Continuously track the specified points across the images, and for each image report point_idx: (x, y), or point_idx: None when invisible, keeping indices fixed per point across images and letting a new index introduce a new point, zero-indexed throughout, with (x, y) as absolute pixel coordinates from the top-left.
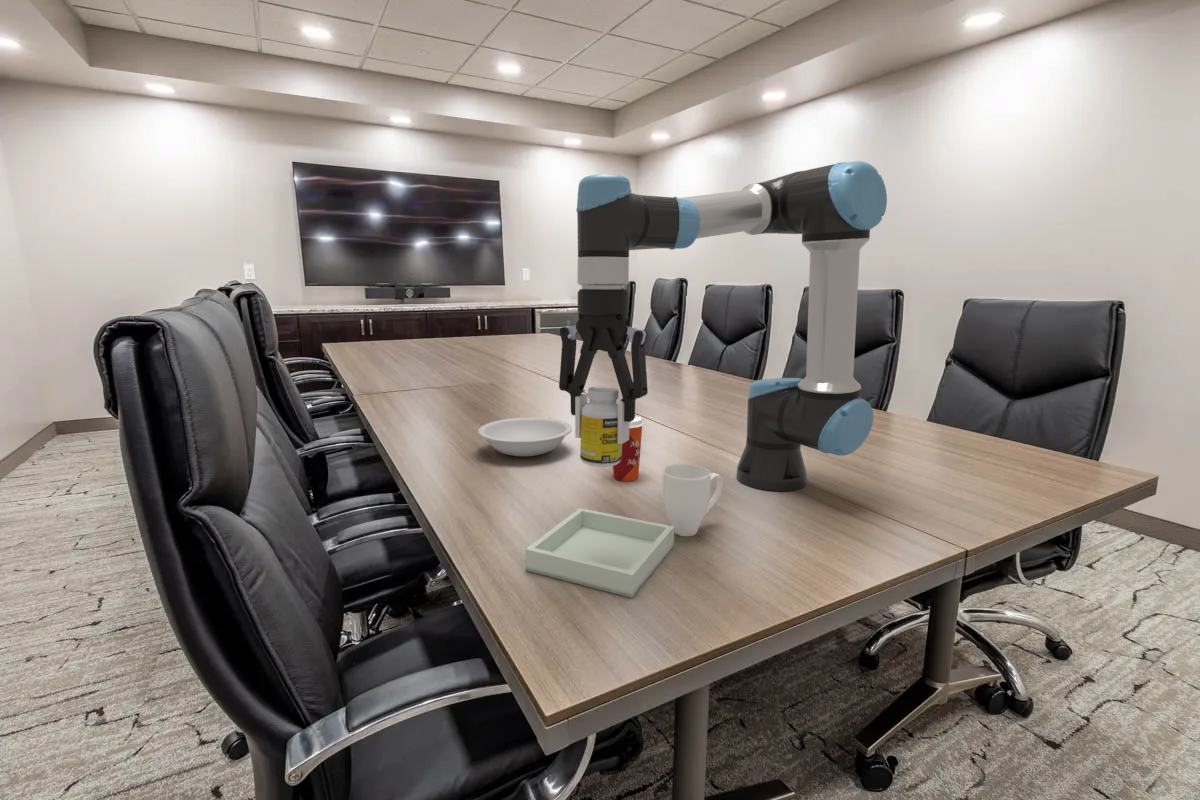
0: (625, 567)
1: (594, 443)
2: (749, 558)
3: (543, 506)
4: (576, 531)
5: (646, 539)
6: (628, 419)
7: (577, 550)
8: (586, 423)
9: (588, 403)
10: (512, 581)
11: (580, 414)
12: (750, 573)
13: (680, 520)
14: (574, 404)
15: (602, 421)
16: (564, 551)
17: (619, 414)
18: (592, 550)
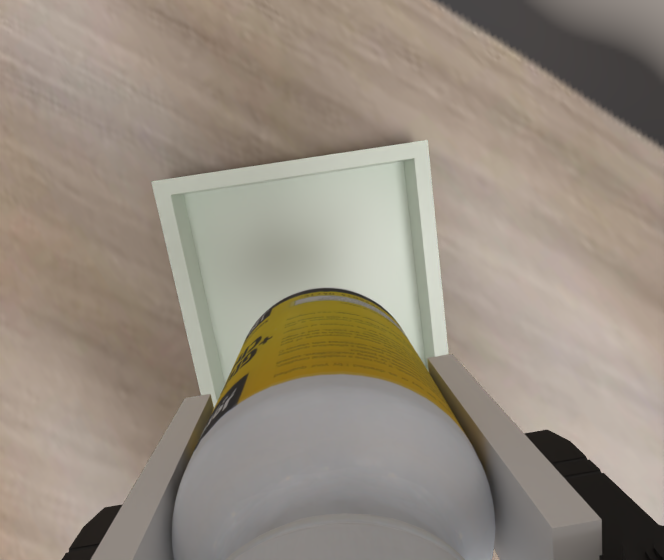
0: (240, 265)
1: (298, 316)
2: (69, 449)
3: (568, 406)
4: (423, 339)
5: None
6: (106, 517)
7: (368, 268)
8: (366, 355)
9: (441, 515)
10: (408, 94)
11: (477, 437)
12: (37, 397)
13: None
14: (576, 487)
15: (243, 390)
16: (388, 248)
17: (143, 508)
18: (341, 287)
